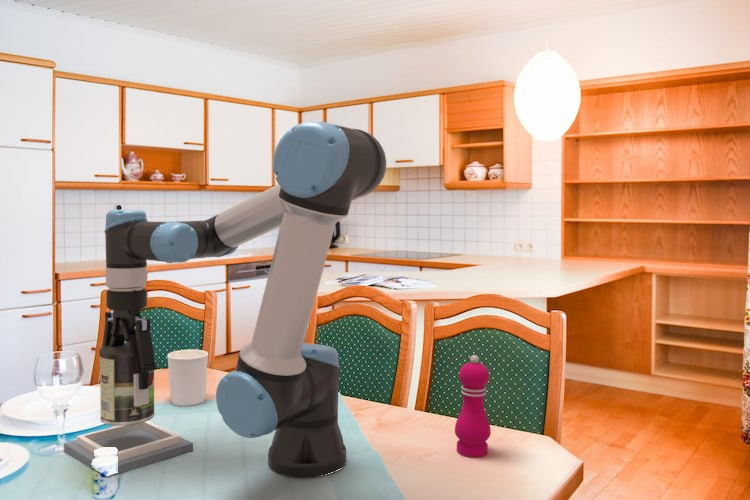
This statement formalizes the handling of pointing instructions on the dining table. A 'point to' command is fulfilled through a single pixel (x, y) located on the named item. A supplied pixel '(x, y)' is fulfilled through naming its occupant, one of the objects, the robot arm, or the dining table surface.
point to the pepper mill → (473, 410)
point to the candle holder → (187, 376)
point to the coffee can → (121, 388)
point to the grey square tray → (130, 445)
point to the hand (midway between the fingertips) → (127, 398)
